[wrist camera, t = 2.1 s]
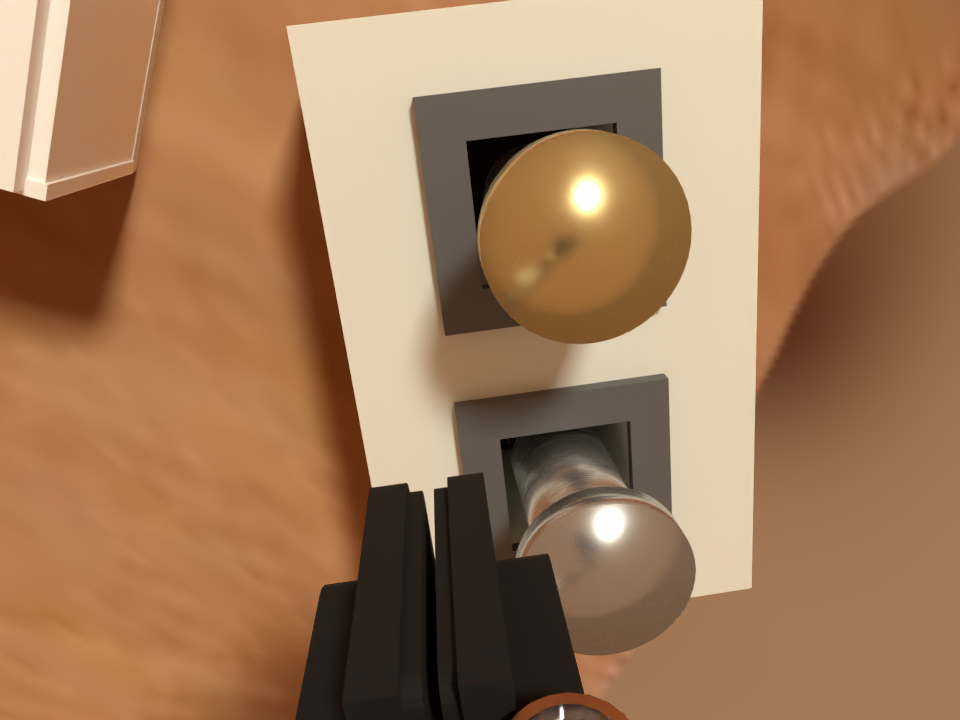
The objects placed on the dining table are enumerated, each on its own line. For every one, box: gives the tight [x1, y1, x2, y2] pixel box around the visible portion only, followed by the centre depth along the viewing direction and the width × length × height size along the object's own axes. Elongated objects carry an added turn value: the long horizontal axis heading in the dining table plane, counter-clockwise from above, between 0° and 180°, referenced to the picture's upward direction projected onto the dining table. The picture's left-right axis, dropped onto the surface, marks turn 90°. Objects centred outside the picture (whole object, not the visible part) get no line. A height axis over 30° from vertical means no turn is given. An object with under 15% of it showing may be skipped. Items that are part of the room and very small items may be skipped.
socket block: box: [286, 0, 763, 597], centre depth 29 cm, size 22×14×8 cm, turn 6°
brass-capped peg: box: [477, 129, 692, 344], centre depth 22 cm, size 5×5×8 cm
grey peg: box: [511, 426, 696, 655], centre depth 26 cm, size 5×5×8 cm
